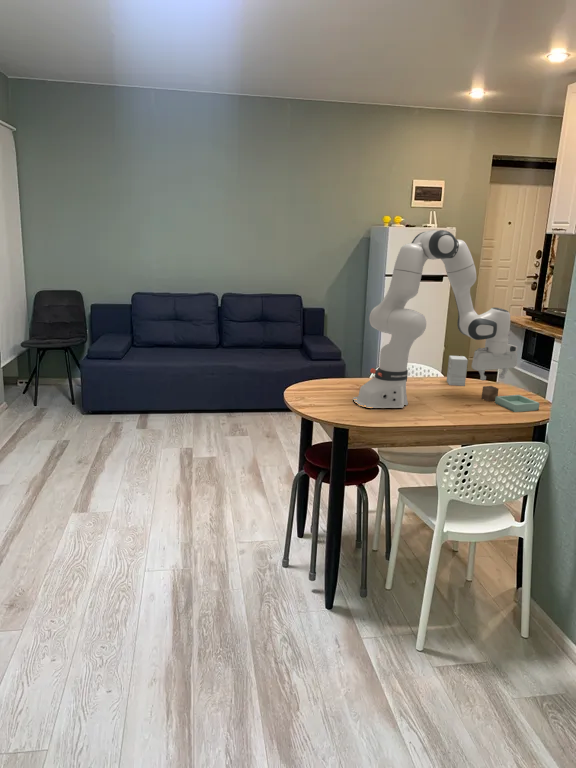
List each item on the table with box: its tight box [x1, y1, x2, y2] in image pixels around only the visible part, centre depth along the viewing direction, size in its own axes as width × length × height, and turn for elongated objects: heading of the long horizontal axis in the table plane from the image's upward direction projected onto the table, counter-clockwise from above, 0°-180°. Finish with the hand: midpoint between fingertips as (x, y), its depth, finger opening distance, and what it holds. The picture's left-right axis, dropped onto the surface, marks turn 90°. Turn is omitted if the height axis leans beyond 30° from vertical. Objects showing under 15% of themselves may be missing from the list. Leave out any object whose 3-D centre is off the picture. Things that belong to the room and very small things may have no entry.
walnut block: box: [480, 385, 499, 402], centre depth 245 cm, size 4×4×6 cm
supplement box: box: [446, 355, 469, 387], centre depth 268 cm, size 7×7×13 cm
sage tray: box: [494, 394, 541, 413], centre depth 237 cm, size 12×12×3 cm
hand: (492, 379), depth 244 cm, fingers open, 8 cm apart
